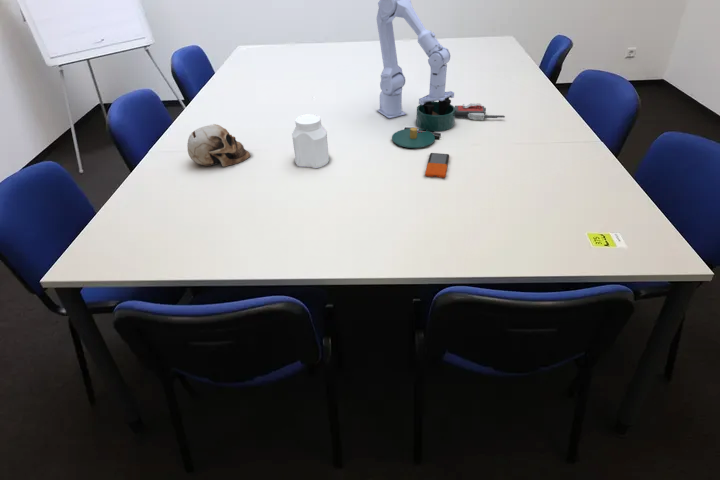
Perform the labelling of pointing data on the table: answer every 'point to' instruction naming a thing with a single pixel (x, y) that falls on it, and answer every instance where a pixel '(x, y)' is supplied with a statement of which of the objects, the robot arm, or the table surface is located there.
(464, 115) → the walkie-talkie
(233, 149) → the coin bank
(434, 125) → the tin
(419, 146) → the tin lid
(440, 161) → the phone
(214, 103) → the table surface
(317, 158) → the jar
